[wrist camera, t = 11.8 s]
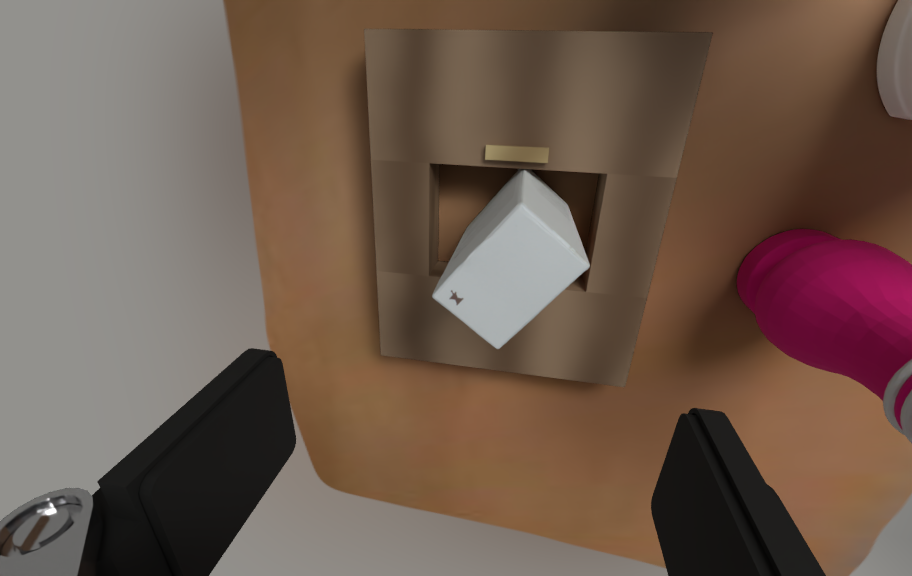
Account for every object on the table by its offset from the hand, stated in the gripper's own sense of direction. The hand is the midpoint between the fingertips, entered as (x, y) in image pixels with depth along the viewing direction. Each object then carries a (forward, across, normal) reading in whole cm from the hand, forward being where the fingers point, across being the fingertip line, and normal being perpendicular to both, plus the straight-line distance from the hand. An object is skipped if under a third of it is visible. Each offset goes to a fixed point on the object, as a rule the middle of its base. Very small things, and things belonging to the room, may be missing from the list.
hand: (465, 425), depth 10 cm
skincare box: (+21, 0, 0) cm, 21 cm away
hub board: (+21, 0, +1) cm, 21 cm away
